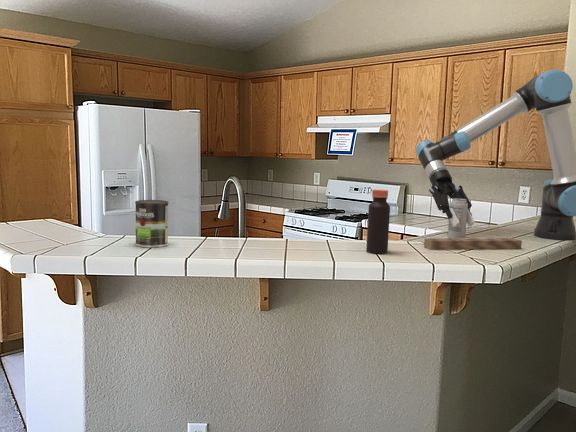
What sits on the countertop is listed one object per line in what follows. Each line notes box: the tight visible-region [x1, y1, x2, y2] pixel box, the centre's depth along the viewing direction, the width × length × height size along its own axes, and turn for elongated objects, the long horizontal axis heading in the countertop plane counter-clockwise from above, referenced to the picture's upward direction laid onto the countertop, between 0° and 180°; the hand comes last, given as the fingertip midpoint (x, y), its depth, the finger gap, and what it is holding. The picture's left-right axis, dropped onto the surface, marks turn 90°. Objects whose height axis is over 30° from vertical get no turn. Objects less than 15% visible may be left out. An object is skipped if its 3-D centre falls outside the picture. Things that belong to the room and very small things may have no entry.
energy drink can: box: [447, 198, 468, 238], centre depth 184 cm, size 6×6×15 cm
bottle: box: [365, 189, 391, 255], centre depth 164 cm, size 7×7×20 cm
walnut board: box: [423, 237, 523, 251], centre depth 177 cm, size 34×5×3 cm, turn 101°
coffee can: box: [134, 199, 169, 249], centre depth 165 cm, size 10×10×14 cm
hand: (464, 224), depth 181 cm, fingers closed on energy drink can, 6 cm apart
